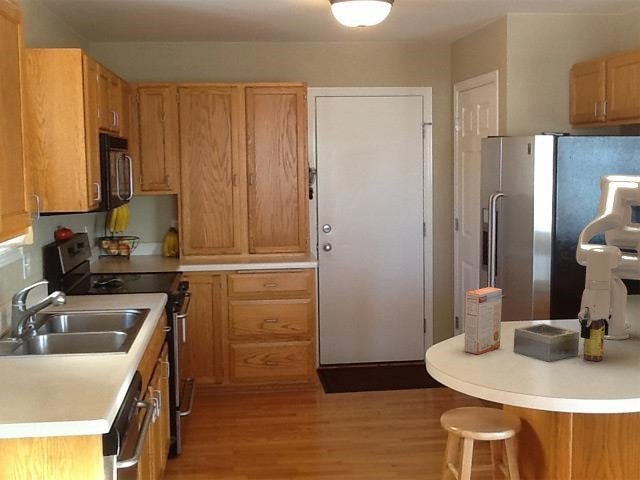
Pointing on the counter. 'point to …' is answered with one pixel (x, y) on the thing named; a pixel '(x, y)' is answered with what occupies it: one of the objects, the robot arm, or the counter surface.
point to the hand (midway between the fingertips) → (594, 336)
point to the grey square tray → (546, 342)
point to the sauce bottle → (595, 341)
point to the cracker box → (482, 320)
